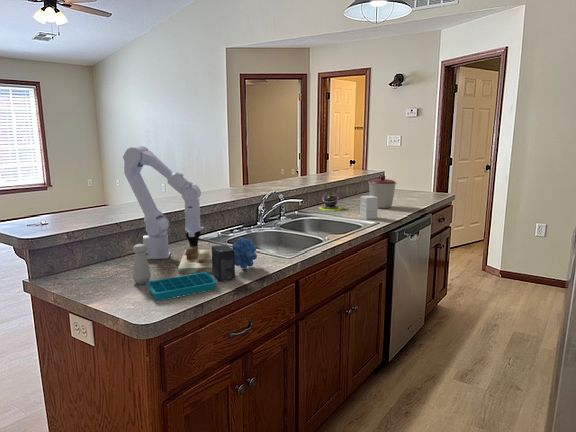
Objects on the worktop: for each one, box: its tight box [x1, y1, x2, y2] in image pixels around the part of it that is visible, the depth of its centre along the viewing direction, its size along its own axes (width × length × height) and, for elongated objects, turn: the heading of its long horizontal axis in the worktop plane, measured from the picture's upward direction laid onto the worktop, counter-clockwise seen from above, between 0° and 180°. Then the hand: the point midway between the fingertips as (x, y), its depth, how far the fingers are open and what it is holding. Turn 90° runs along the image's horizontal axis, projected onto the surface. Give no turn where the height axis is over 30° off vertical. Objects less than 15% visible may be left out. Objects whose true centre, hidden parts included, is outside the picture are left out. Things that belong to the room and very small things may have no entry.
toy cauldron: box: [318, 192, 343, 212], centre depth 272 cm, size 15×15×11 cm
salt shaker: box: [131, 243, 152, 285], centre depth 140 cm, size 6×6×13 cm
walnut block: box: [185, 245, 199, 259], centre depth 161 cm, size 4×4×4 cm
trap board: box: [177, 248, 212, 275], centre depth 162 cm, size 12×23×2 cm, turn 7°
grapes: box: [231, 237, 258, 270], centre depth 154 cm, size 12×7×12 cm, turn 134°
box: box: [211, 244, 236, 282], centre depth 146 cm, size 8×6×11 cm
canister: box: [367, 174, 398, 209], centre depth 275 cm, size 18×18×21 cm
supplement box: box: [359, 195, 378, 221], centre depth 242 cm, size 7×7×13 cm
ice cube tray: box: [146, 272, 218, 301], centre depth 135 cm, size 12×20×3 cm, turn 120°
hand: (194, 250), depth 168 cm, fingers closed
